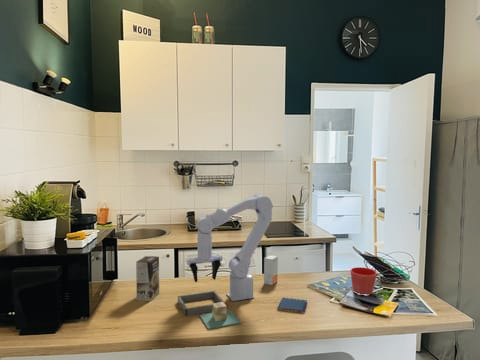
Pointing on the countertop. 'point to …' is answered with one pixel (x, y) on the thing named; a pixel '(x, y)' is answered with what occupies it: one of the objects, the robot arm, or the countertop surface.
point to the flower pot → (363, 280)
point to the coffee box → (147, 278)
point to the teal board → (214, 324)
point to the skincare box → (270, 269)
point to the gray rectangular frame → (197, 297)
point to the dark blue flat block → (292, 305)
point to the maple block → (219, 311)
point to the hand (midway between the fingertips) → (204, 280)
